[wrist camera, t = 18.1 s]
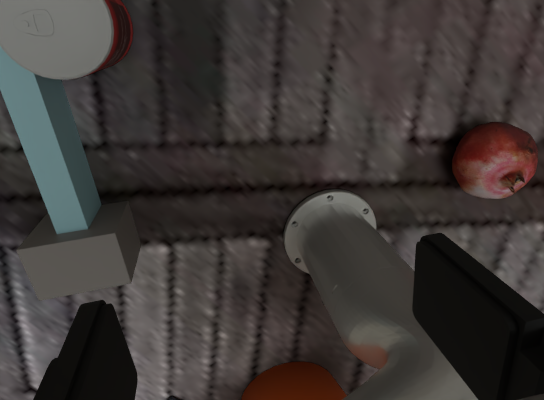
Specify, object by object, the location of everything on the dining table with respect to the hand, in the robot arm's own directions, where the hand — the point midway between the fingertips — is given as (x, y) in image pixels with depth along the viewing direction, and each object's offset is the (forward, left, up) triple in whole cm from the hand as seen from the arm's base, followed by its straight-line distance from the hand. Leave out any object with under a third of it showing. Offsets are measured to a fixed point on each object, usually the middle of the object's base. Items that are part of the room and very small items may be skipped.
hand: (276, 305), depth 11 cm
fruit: (-10, -32, -34) cm, 47 cm away
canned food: (+10, +11, -34) cm, 36 cm away
